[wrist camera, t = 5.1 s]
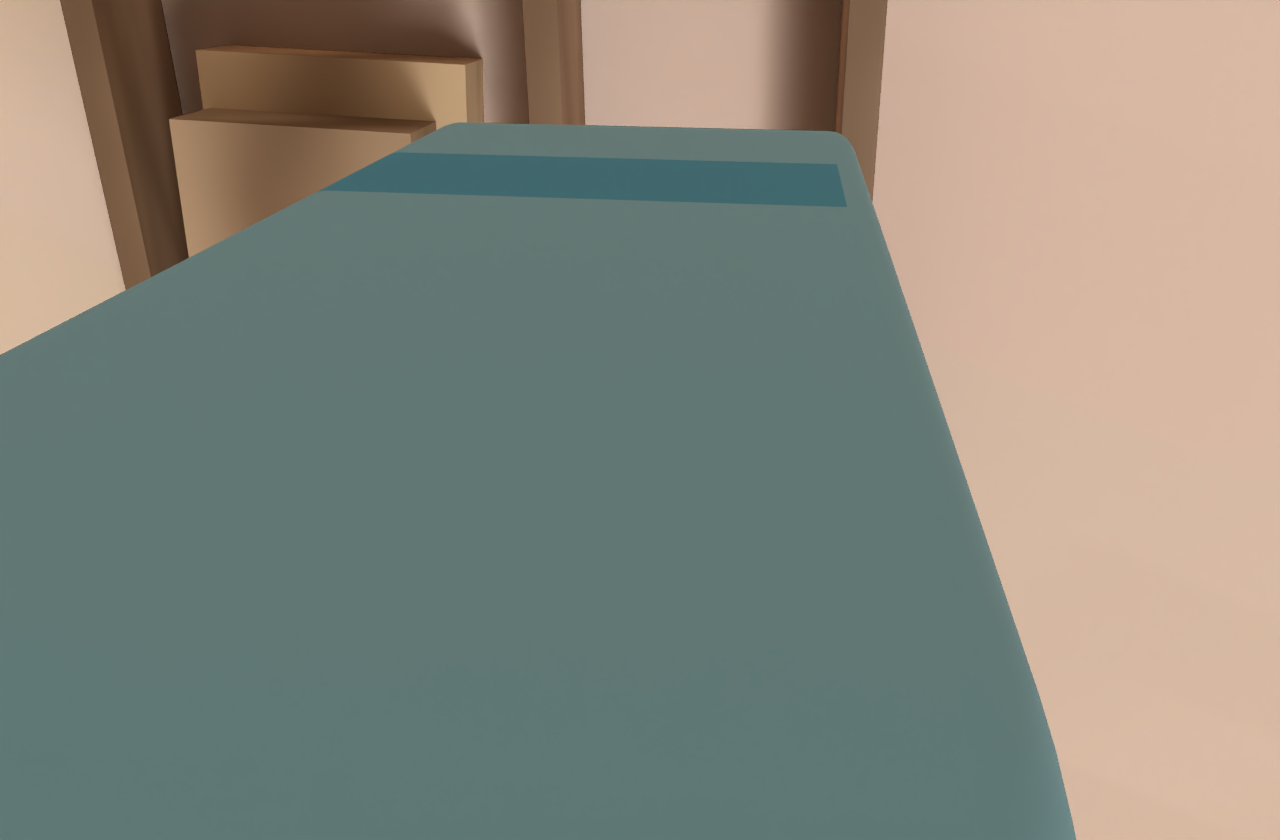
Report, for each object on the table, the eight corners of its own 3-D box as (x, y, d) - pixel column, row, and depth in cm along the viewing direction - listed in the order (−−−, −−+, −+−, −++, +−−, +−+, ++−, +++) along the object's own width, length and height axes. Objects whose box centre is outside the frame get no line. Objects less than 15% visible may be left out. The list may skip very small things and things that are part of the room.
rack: (886, -149, 24) (899, -162, 21) (835, 573, 32) (840, 631, 29) (106, -126, 26) (29, -135, 24) (240, 542, 34) (194, 593, 32)
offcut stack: (486, 57, 27) (441, 73, 24) (493, 404, 32) (456, 462, 28) (233, 43, 28) (151, 57, 25) (272, 385, 32) (208, 439, 29)
